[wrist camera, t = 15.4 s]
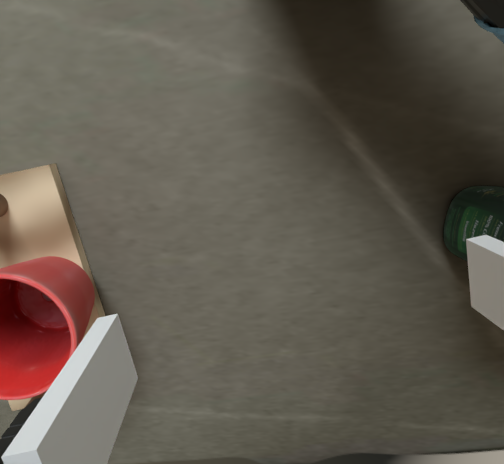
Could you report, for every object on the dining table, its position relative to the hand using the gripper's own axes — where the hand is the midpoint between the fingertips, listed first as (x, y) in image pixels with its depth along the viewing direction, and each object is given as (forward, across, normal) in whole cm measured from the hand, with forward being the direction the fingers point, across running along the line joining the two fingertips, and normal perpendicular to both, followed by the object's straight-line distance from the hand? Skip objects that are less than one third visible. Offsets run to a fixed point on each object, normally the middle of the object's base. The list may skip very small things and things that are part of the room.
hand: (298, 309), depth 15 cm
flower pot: (+25, -21, -5) cm, 34 cm away
